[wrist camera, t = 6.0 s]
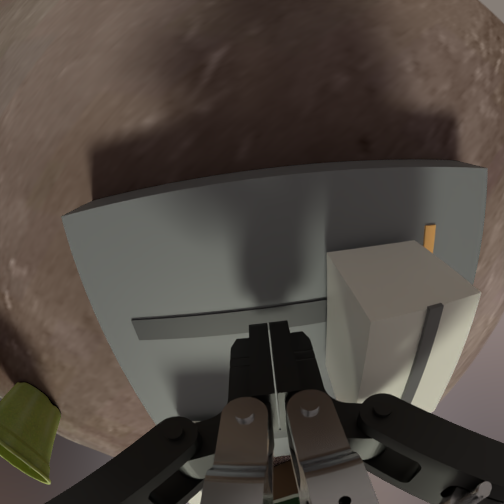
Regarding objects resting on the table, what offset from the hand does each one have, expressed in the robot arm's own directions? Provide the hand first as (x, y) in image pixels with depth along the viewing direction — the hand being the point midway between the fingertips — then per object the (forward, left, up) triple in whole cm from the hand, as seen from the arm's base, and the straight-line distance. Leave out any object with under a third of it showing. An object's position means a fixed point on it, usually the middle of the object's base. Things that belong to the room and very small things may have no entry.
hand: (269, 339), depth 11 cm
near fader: (0, +5, -1) cm, 5 cm away
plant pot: (+12, -25, -5) cm, 28 cm away
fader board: (+4, +2, -4) cm, 6 cm away
